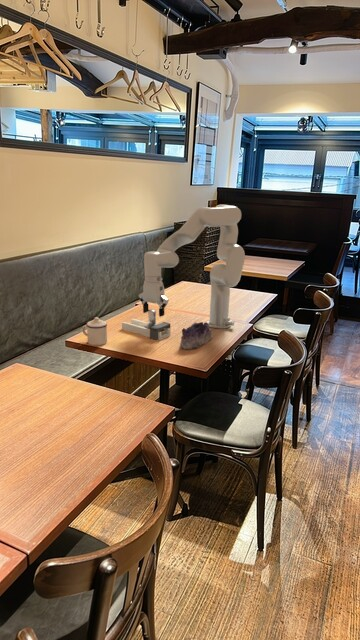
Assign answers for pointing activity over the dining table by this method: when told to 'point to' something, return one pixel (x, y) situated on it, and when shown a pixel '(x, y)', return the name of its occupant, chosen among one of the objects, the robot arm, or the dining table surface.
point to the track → (153, 332)
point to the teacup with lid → (96, 332)
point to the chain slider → (152, 319)
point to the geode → (195, 336)
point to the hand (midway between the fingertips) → (153, 314)
